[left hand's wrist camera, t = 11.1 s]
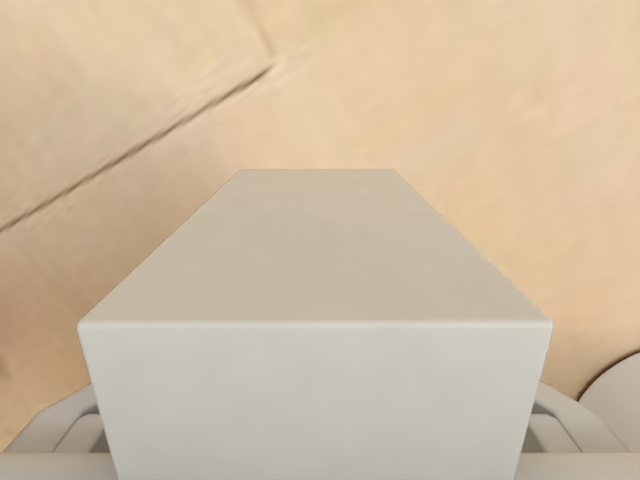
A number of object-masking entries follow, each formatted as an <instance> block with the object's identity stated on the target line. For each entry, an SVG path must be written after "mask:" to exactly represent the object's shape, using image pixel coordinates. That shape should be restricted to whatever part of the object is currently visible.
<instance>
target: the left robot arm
mask: <svg viewBox="0 0 640 480" xmlns="http://www.w3.org/2000/svg"><path fill="white" fill-rule="evenodd" d="M0 480H118V478H117V474H116V471H115V467H114V463H113V460H112V456H111V453H110V449H109V445H108V442H107V438H106V434H105V431H104V427H103V424H102V420H101V416H100V413H99V409H98V405H97V402H96V398H95V395H94V391H93V387H92V384H91V383H90V384H89V385H87V386H85V387H83V388H81V389H80V390H78V391H76V392H74V393H72V394H70V395H69V396H67V397H65V398H63V399H61V400H60V401H58V402H56V403H54V404H52V405H51V406H49V407H47V408H45V409H43V410H42V411H40V412H38V413H37V414H36V415H35V417H34V418H33V419H32V420H31V421H30V422H29V423H28V424H27V425H26V427H25V428H24V429H23V430H22V431H21V432H20V433H19V434H18V436H17V437H16V438H15V439H14V440H13V441H12V442H11V443H10V444H9V446H8V447H7V448H6V449H5V450H4V451H3V452H2V453H0ZM514 480H640V352H639V353H637V354H635V355H632V356H630V357H628V358H626V359H625V360H623V361H621V362H619V363H618V364H616V365H614V366H613V367H611V368H610V369H609V370H607V371H606V372H605V373H603V374H602V375H601V376H600V377H599V378H597V379H596V380H595V381H594V382H593V383H592V384H591V385H590V387H589V388H588V389H587V390H586V391H585V393H584V394H583V395H582V397H581V398H580V400H579V401H578V402H577V401H575V400H574V399H572V398H570V397H568V396H567V395H565V394H563V393H561V392H559V391H558V390H556V389H554V388H552V387H550V386H549V385H547V384H545V383H543V382H542V381H539V385H538V389H537V392H536V396H535V400H534V404H533V408H532V411H531V415H530V419H529V423H528V427H527V431H526V434H525V438H524V442H523V446H522V450H521V453H520V457H519V461H518V465H517V469H516V473H515V476H514Z"/></svg>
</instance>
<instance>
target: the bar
mask: <svg viewBox="0 0 640 480" xmlns="http://www.w3.org/2000/svg"><path fill="white" fill-rule="evenodd" d="M552 331H553V322H552V320H551V319H550V318H549V317H548V316H547V315H546V314H545V313H544V312H543V311H542V310H541V309H539V308H538V307H537V306H536V305H535V304H534V303H533V302H532V301H531V300H530V299H529V298H528V297H527V296H526V295H525V294H524V293H523V292H522V291H521V290H520V289H519V288H518V287H517V286H516V285H514V284H513V283H512V282H511V281H510V280H509V279H508V278H507V277H506V276H505V275H504V274H503V273H502V272H501V271H500V270H499V269H498V268H497V267H496V266H495V265H494V264H493V263H492V262H491V261H489V260H488V259H487V258H486V257H485V256H484V255H483V254H482V253H481V252H480V251H479V250H478V249H477V248H476V247H475V246H474V245H473V244H472V243H471V242H470V241H469V240H468V239H467V238H466V237H465V236H463V235H462V234H461V233H460V232H459V231H458V230H457V229H456V228H455V227H454V226H453V225H452V224H451V223H450V222H449V221H448V220H447V219H446V218H445V217H444V216H443V215H442V214H441V213H440V212H438V211H437V210H436V209H435V208H434V207H433V206H432V205H431V204H430V203H429V202H428V201H427V200H426V199H425V198H424V197H423V196H422V195H421V194H420V193H419V192H418V191H417V190H416V189H415V188H413V187H412V186H411V185H410V184H409V183H408V182H407V181H406V180H405V179H404V178H403V177H402V176H401V175H400V174H399V173H398V172H397V171H396V170H395V169H241V170H239V171H238V172H237V173H236V174H235V175H234V176H233V177H232V178H231V179H230V180H229V181H227V182H226V183H225V184H224V185H223V186H222V187H221V188H220V189H219V190H218V191H217V192H216V193H215V194H214V195H213V196H211V197H210V198H209V199H208V200H207V201H206V202H205V203H204V204H203V205H202V206H201V207H200V208H199V209H198V210H197V211H196V212H194V213H193V214H192V215H191V216H190V217H189V218H188V219H187V220H186V221H185V222H184V223H183V224H182V225H181V226H180V227H179V228H177V229H176V230H175V231H174V232H173V233H172V234H171V235H170V236H169V237H168V238H167V239H166V240H165V241H164V242H163V243H161V244H160V245H159V246H158V247H157V248H156V249H155V250H154V251H153V252H152V253H151V254H150V255H149V256H148V257H147V258H146V259H144V260H143V261H142V262H141V263H140V264H139V265H138V266H137V267H136V268H135V269H134V270H133V271H132V272H131V273H130V274H129V275H127V276H126V277H125V278H124V279H123V280H122V281H121V282H120V283H119V284H118V285H117V286H116V287H115V288H114V289H113V290H111V291H110V292H109V293H108V294H107V295H106V296H105V297H104V298H103V299H102V300H101V301H100V302H99V303H98V304H97V305H96V306H94V307H93V308H92V309H91V310H90V311H89V312H88V313H87V314H86V315H85V316H84V317H83V318H82V319H81V320H80V321H79V322H78V324H77V333H78V337H79V340H80V344H81V348H82V351H83V355H84V358H85V362H86V366H87V369H88V373H89V376H90V380H91V384H92V387H93V391H94V395H95V398H96V402H97V405H98V409H99V413H100V416H101V420H102V424H103V427H104V431H105V434H106V438H107V442H108V445H109V449H110V453H111V456H112V460H113V463H114V467H115V471H116V474H117V478H118V480H514V476H515V473H516V469H517V465H518V461H519V457H520V453H521V450H522V446H523V442H524V438H525V434H526V431H527V427H528V423H529V419H530V415H531V411H532V408H533V404H534V400H535V396H536V392H537V389H538V385H539V381H540V377H541V373H542V369H543V366H544V362H545V358H546V354H547V350H548V346H549V343H550V339H551V335H552Z"/></svg>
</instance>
